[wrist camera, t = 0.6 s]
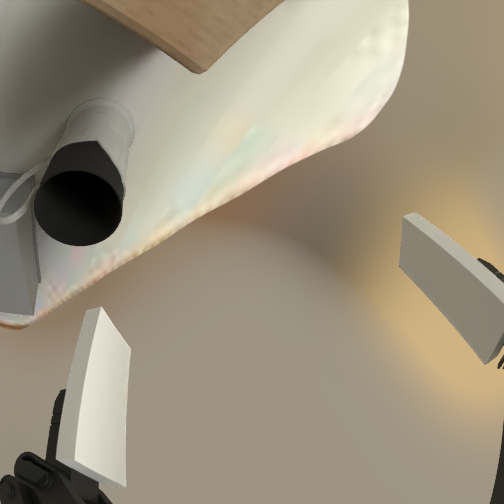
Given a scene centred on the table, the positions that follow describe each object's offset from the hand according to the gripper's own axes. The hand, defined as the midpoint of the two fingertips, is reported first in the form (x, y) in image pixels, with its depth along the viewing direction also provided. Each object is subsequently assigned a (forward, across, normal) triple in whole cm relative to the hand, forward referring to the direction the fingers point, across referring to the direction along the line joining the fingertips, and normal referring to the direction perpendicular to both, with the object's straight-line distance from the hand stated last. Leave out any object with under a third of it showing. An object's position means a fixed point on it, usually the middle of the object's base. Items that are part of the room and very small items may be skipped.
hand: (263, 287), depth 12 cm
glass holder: (+26, -15, +7) cm, 31 cm away
